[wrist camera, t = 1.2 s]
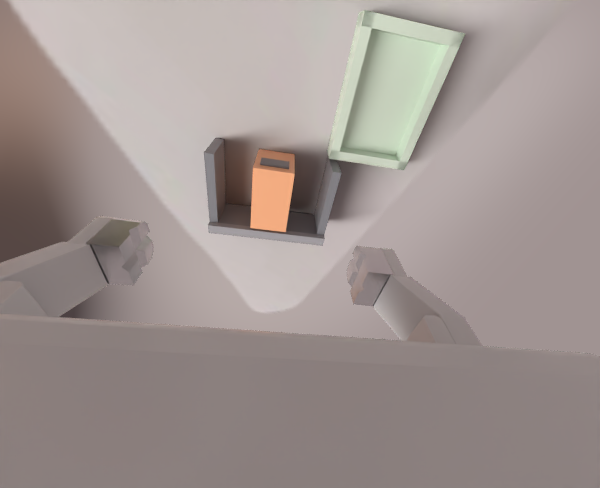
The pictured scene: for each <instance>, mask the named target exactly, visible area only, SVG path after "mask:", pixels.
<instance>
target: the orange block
mask: <svg viewBox="0 0 600 488" xmlns="http://www.w3.org/2000/svg"><path fill="white" fill-rule="evenodd" d="M294 176H295V154H289V153H283V152H276V151H270V150H264V149H259V150H258V154H257V157H256V160H255V163H254V166H253V179H252V202H251V225H250V228H255V229H263V230H272V231H280V232H286V227H287V220H288V214H289V207H290V201H291V195H292V188H293V182H294Z"/></svg>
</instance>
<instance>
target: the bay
mask: <svg viewBox="0 0 600 488" xmlns="http://www.w3.org/2000/svg"><path fill="white" fill-rule="evenodd" d="M204 159H205V171H206V183H207V195H208V206H209V218H210V222H209V224H208V230H209V233H215V234H223V235H232V236H241V237H250V238H259V239H268V240H277V241H285V242H294V243H303V244H312V245H321V246H323V243H324V239H325V238H324V233H325V230H326V226H327V223H328V219H329V216H330V212H331V209H332V205H333V202H334V198H335V195H336V191H337V187H338V184H339V180H340V177H341V170H340V168H339V165H338V162H337V160H335V159H329V156H328V158H327V163H326V167H325V171H324V175H323V180H322V184H321V188H320V192H319V197H318V201H317V205H316V209H315V213H314V215H313V214H305V213H297V212H289V214H288V220H287V227H286V232H280V231H272V230H263V229H255V228H250V225H251V207H250V206H243V205H235V204H227V203H226V187H225V156H224V139H219V138H215V139H214V141H213V142H212V143H211V144H210V146H209V147H208V148H207V149H206V151H205V152H204Z"/></svg>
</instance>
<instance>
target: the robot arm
mask: <svg viewBox="0 0 600 488" xmlns="http://www.w3.org/2000/svg"><path fill="white" fill-rule="evenodd" d="M148 232H149V228H148V224H147V223H145V222H143V221H135V220H128V219H121V218H113V217H104V216H100V217H96V218H95V219H94V220H93V221H92V222H90V223H89V224H88V225H87V226H86V227H85V228H83V229H82V230H81V231H80V232H79V233H78V234H77V235H75V236H74V237H73V238H72V239H70V240H69V241H68V242H60V243H57V244H55V245H51V246H49V247H46V248H43V249H40V250H37V251H34V252H31V253H28V254H25V255H22V256H19V257H17V258H13V259H11V260H8V261H5V262H2V263H0V488H600V356H597V355H593V354H588V353H580V352H564V351H548V350H533V349H518V348H504V347H489V346H488V347H487V346H482V344H481V343H480V341H479V340H478V338H477V336H476V335H475V333H474V332H473V330H472V329H471V327H470V325H469V324H468V322H467V321H466V319H465V318H464V317H463V316H462V315H461V314H459V313H458V312H457V311H455V310H454V309H453V308H451V307H450V306H449V305H447V304H446V303H445V302H443V301H442V300H441V299H439V298H438V297H437V296H435V295H434V294H433V293H431V292H430V291H429V290H427V289H426V288H425V287H424V286H422V285H421V284H419V283H418V282H417V281H415V280H414V279H413V278H412V277H407V275H406V273H405V271H404V269H403V267H402V266H401V263H400V261H399V259H398V257H397V256H396V254H395V252H394V250H392V249H386V248H371V247H362V246H356V247H355V249H354V252H353V256H354V259H352V260H351V261H350V262H349V265H348V268H347V280H348V283H349V284H350V285H351V286H352V288H351V290H350V292H351V297H352V301H353V304H357V305H366V306H373V308H374V309H375V310H376V311H377V312H378V314H379V315H380V316H381V317H382V318H383V319H384V321H385V322H386V323H387V324H388V325H389V326H390V328H391V329H392V330H393V331H394V332H395V334H396V335H397V336H398V337H399V338H400V340H386V339H369V338H355V337H341V336H327V335H312V334H298V333H283V332H268V331H254V330H239V329H224V328H210V327H195V326H180V325H165V324H150V323H135V322H121V321H106V320H91V319H77V318H62V317H59V316H60V315H62V314H64V313H65V312H67V311H68V310H70V309H72V308H73V307H74V306H76V305H78V304H79V303H81V302H83V301H84V300H85V299H87V298H89V297H90V296H92V295H93V294H95V293H97V292H98V291H100V290H101V289H103V288H105V287H106V286H108V284H118V285H134V284H135V283H136V281H137V279H138V278H139V276H140V275H141V274H142V269H141V267H143V266H145V265H147V264H148V263H149V262H150V260H151V258H152V255H153V242H152V240H151V239H150V238H149V237H148V236H147V234H148Z"/></svg>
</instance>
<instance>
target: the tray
mask: <svg viewBox="0 0 600 488" xmlns="http://www.w3.org/2000/svg"><path fill="white" fill-rule="evenodd" d="M464 36H465V33H460V32H456V31H452V30H448V29H443V28H439V27H435V26H430V25H426V24H422V23H418V22H413V21H409V20H405V19H400V18H396V17H392V16H388V15H383V14H379V13H375V12H371V11H366V10H364V11H362V12H359V15H358V20H357V24H356V28H355V33H354V37H353V41H352V46H351V50H350V54H349V59H348V63H347V67H346V72H345V76H344V80H343V85H342V89H341V93H340V98H339V102H338V106H337V111H336V115H335V119H334V124H333V128H332V132H331V137H330V141H329V145H328V150H327V153H328V156H329V159H335V160H341V161H348V162H354V163H361V164H367V165H373V166H380V167H386V168H393V169H399V170H404V169H405V167H406V165H407V163H408V161H409V158H410V156H411V154H412V152H413V149H414V147H415V145H416V143H417V140H418V138H419V136H420V134H421V132H422V129H423V127H424V125H425V123H426V120H427V118H428V116H429V114H430V111H431V109H432V107H433V105H434V103H435V100H436V98H437V96H438V94H439V91H440V89H441V87H442V85H443V83H444V80H445V78H446V76H447V74H448V71H449V69H450V67H451V65H452V62H453V60H454V58H455V56H456V54H457V51H458V49H459V47H460V45H461V42H462V40H463V38H464Z"/></svg>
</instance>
